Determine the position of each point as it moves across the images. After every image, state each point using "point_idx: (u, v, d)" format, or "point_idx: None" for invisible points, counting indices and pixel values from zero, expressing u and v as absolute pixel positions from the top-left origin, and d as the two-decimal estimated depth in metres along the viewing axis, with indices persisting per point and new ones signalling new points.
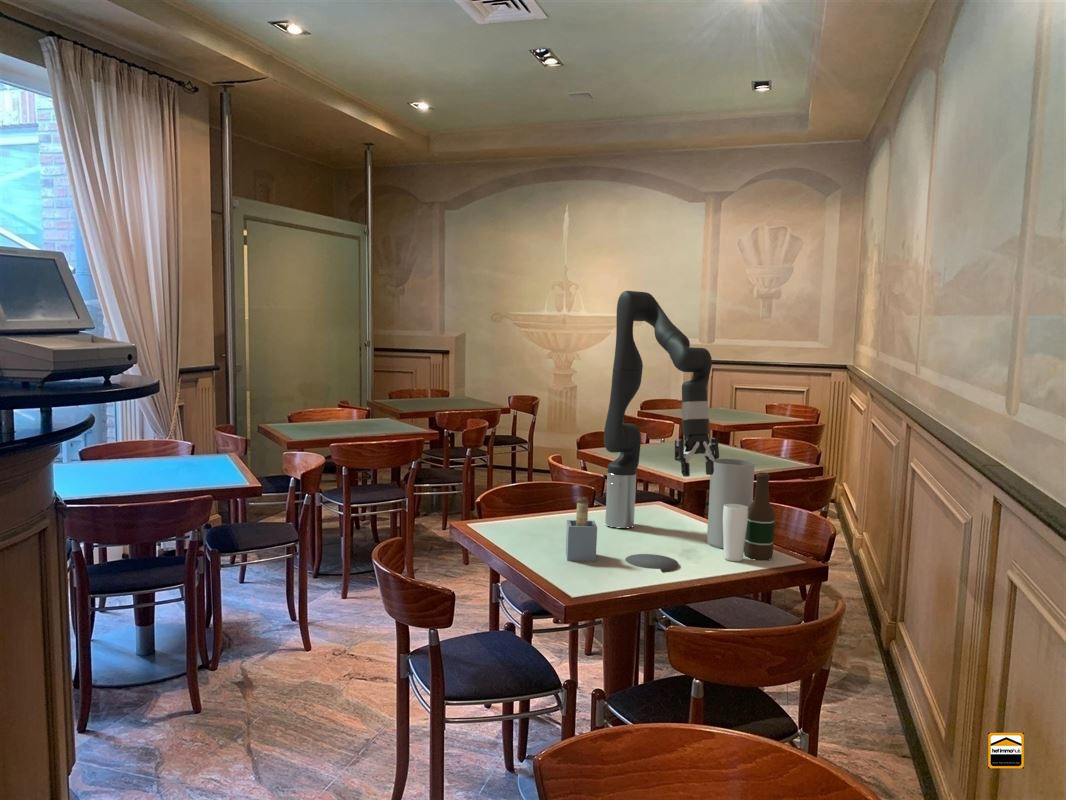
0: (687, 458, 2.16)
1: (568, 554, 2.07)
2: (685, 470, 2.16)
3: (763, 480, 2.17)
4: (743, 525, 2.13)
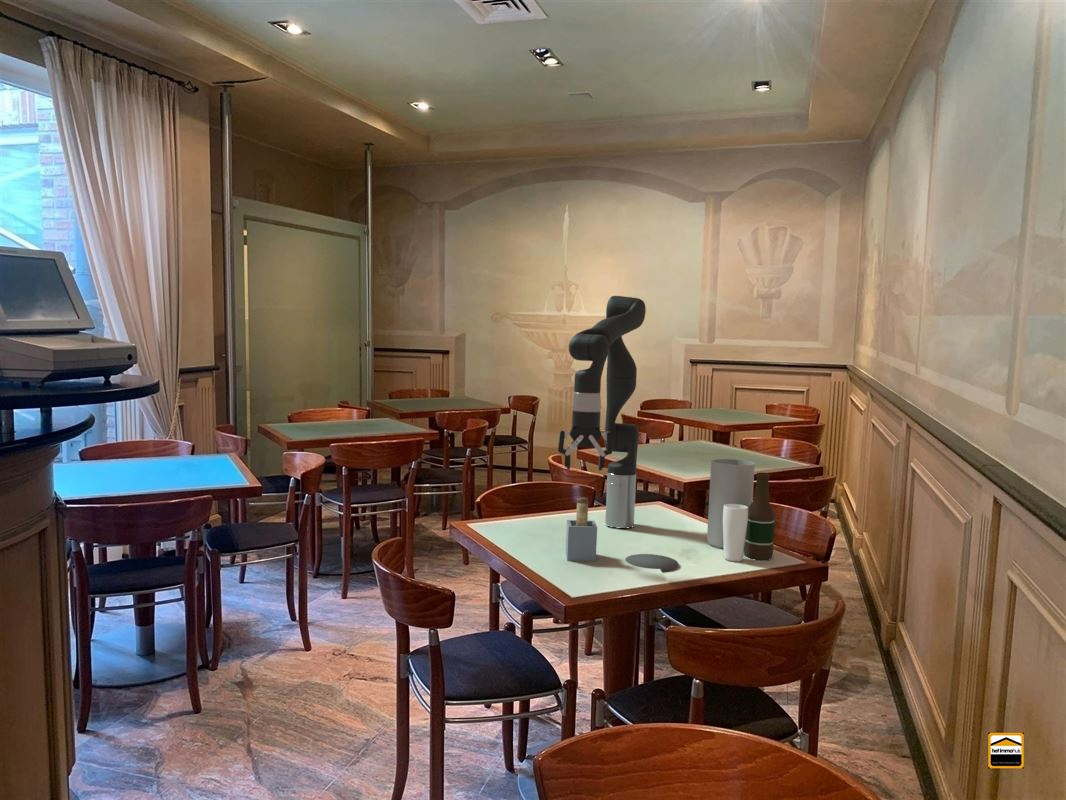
0: (568, 451, 2.07)
1: (568, 554, 2.07)
2: (565, 463, 2.08)
3: (763, 480, 2.17)
4: (743, 525, 2.13)
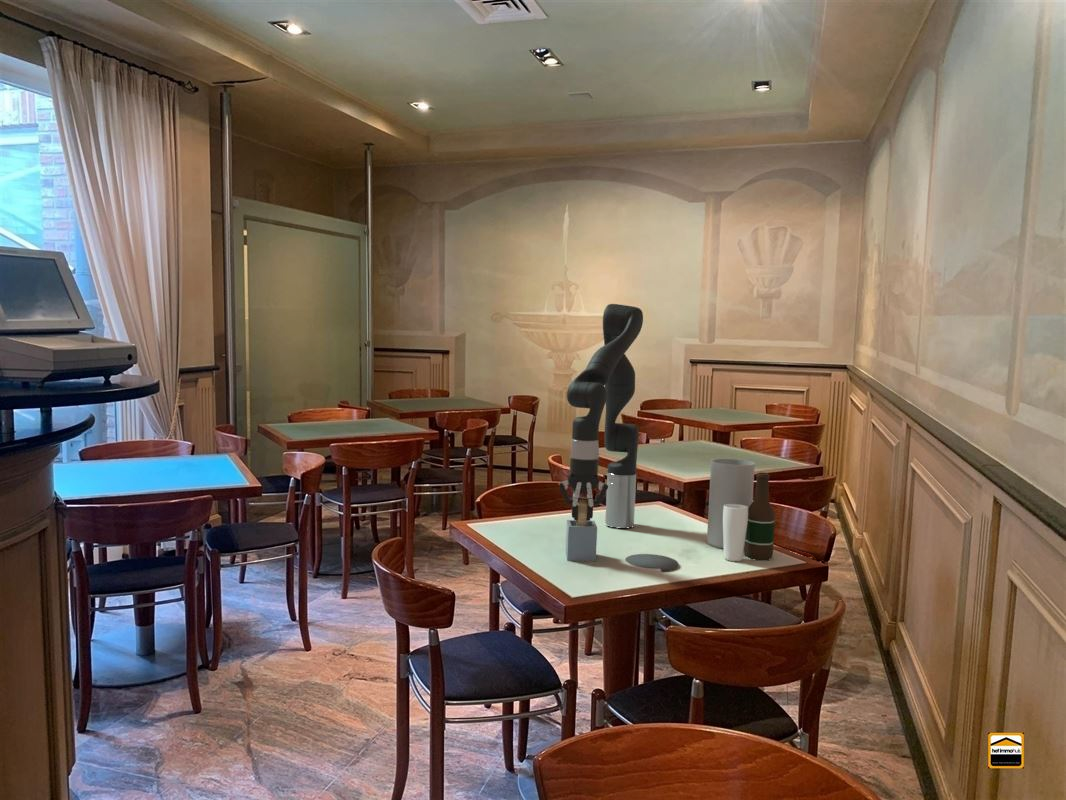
0: (575, 502, 2.08)
1: (568, 554, 2.07)
2: (573, 513, 2.09)
3: (763, 480, 2.17)
4: (743, 525, 2.13)
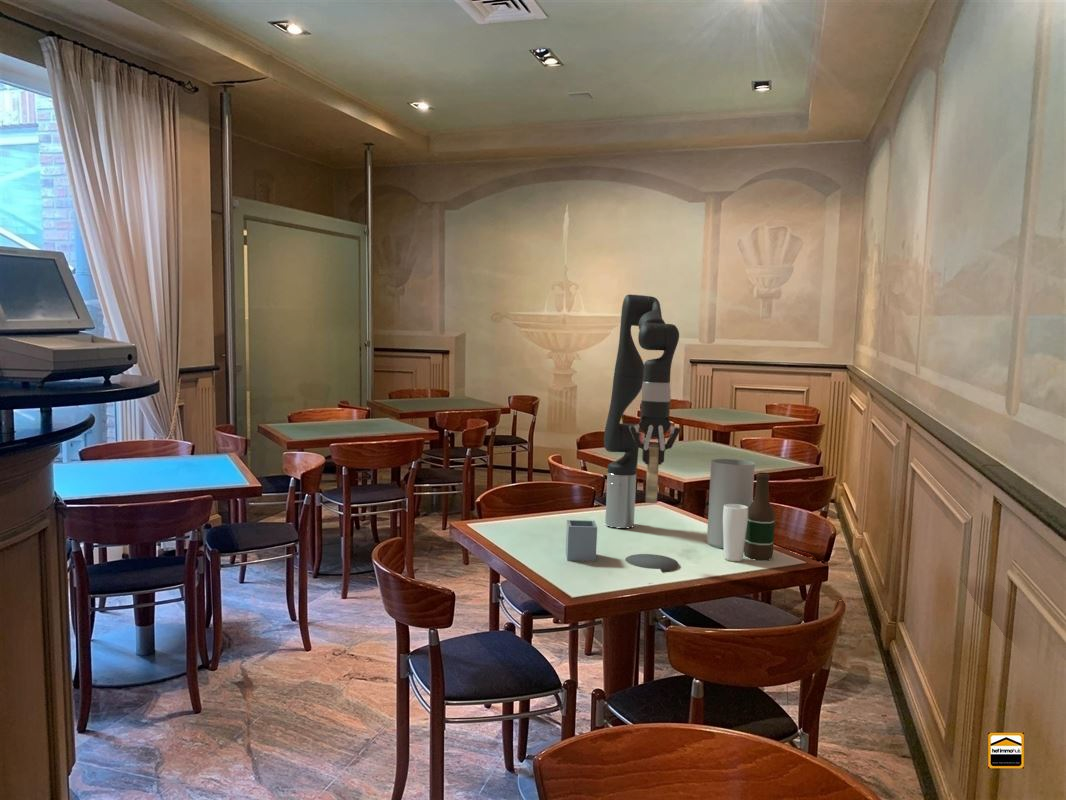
0: (646, 445, 2.06)
1: (568, 554, 2.07)
2: (644, 457, 2.06)
3: (763, 480, 2.17)
4: (743, 525, 2.13)
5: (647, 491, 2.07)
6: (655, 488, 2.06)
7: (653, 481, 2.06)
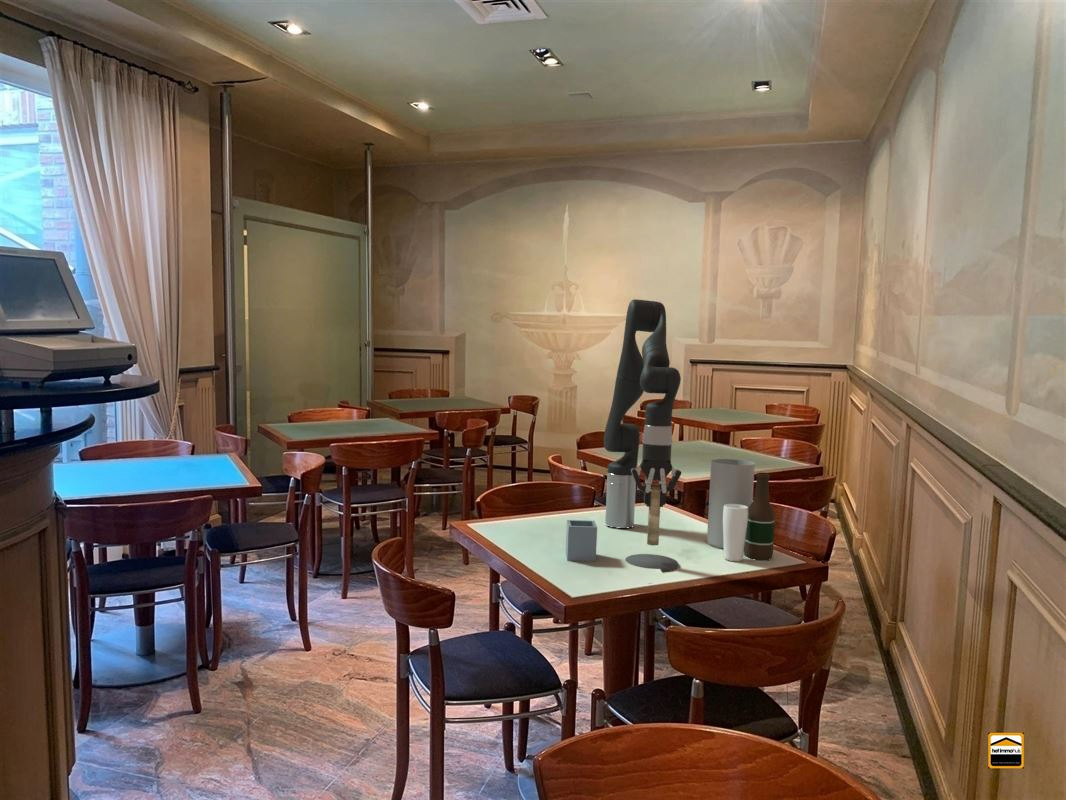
0: (648, 488, 2.07)
1: (568, 554, 2.07)
2: (645, 500, 2.07)
3: (763, 480, 2.17)
4: (743, 525, 2.13)
5: (649, 533, 2.08)
6: (657, 530, 2.07)
7: (655, 524, 2.07)
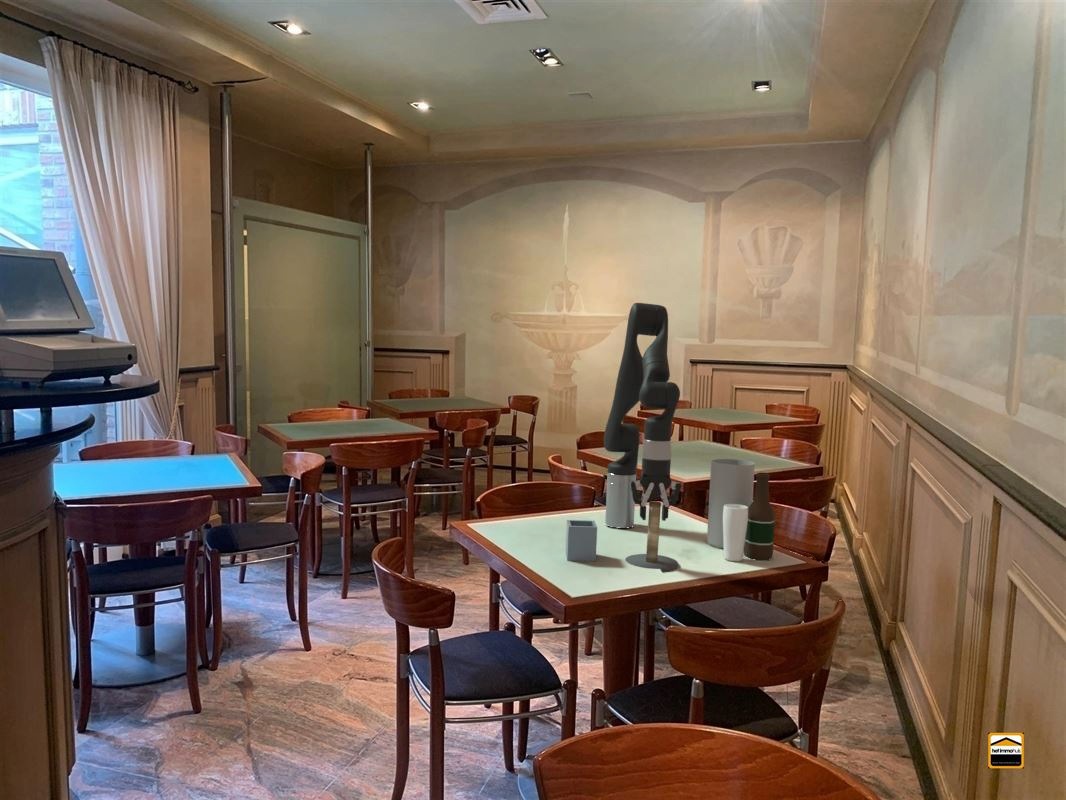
0: (644, 501, 2.07)
1: (568, 554, 2.07)
2: (641, 513, 2.08)
3: (763, 480, 2.17)
4: (743, 525, 2.13)
5: (648, 550, 2.08)
6: (656, 548, 2.08)
7: (654, 541, 2.07)
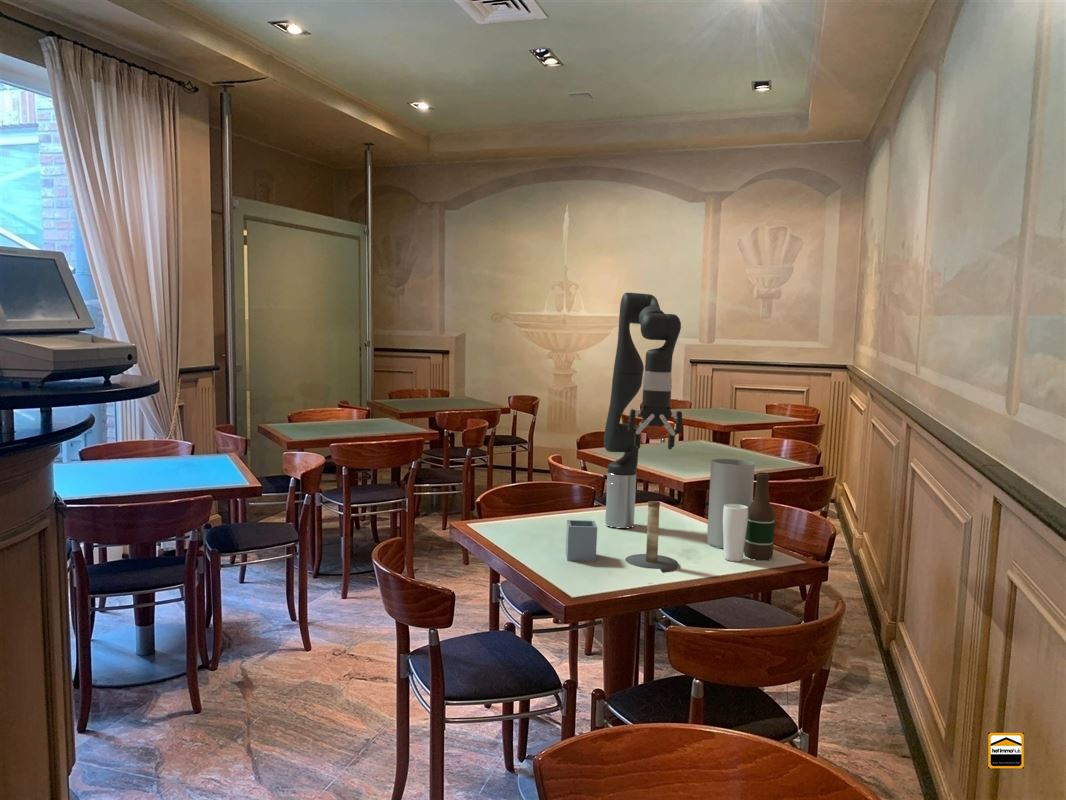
0: (638, 430, 2.08)
1: (568, 554, 2.07)
2: (636, 441, 2.09)
3: (763, 480, 2.17)
4: (743, 525, 2.13)
5: (648, 550, 2.08)
6: (655, 548, 2.08)
7: (653, 541, 2.07)
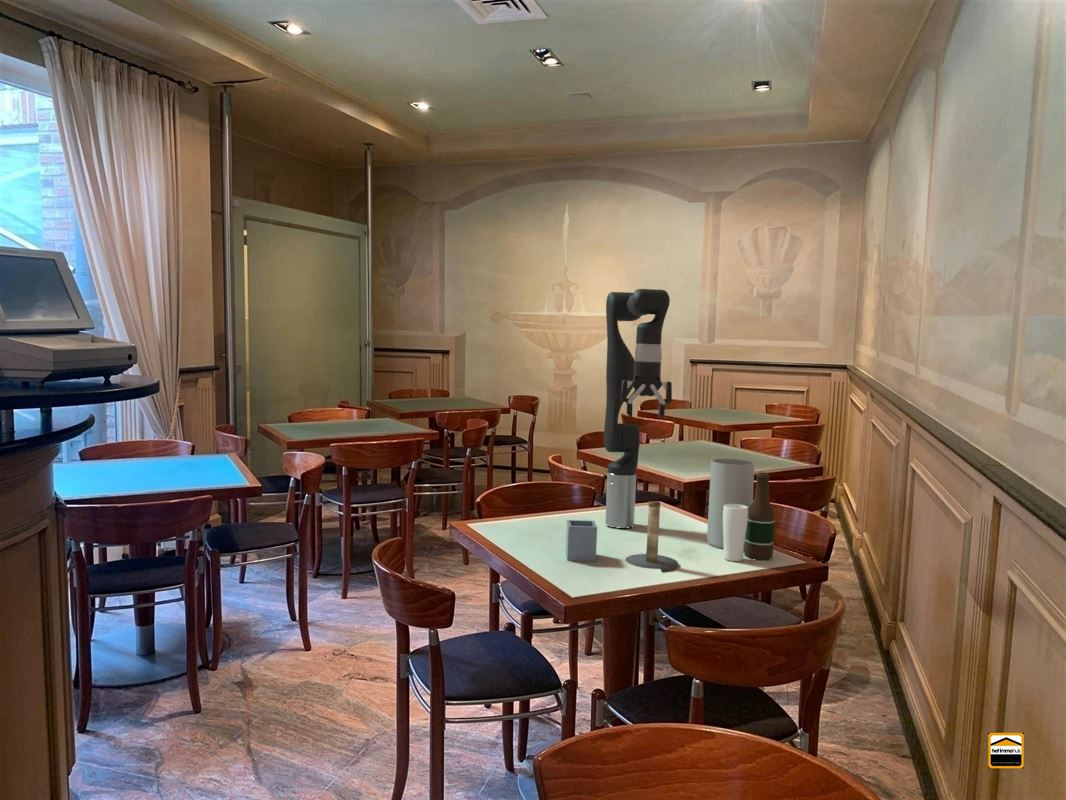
0: (630, 399, 2.20)
1: (568, 554, 2.07)
2: (628, 411, 2.21)
3: (763, 480, 2.17)
4: (743, 525, 2.13)
5: (648, 550, 2.08)
6: (656, 548, 2.08)
7: (654, 541, 2.07)
